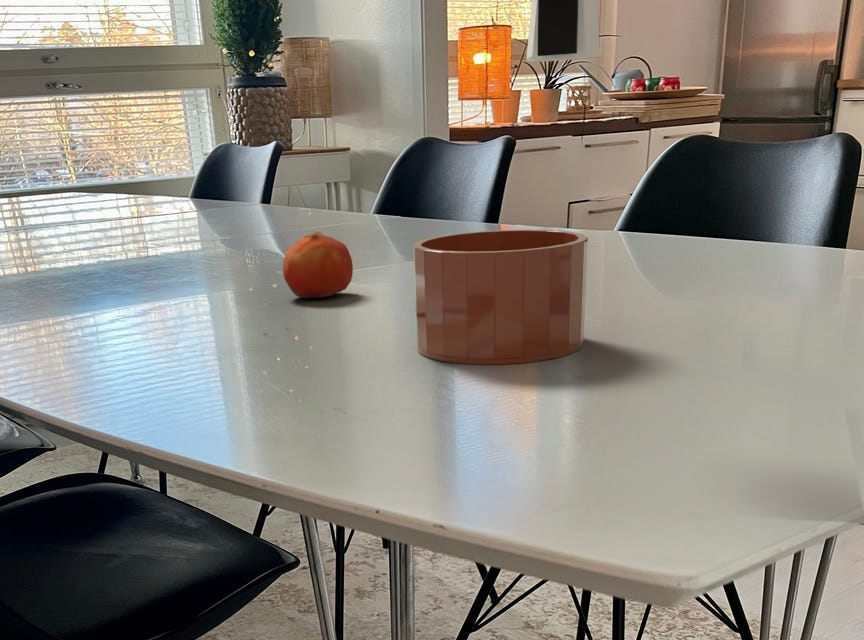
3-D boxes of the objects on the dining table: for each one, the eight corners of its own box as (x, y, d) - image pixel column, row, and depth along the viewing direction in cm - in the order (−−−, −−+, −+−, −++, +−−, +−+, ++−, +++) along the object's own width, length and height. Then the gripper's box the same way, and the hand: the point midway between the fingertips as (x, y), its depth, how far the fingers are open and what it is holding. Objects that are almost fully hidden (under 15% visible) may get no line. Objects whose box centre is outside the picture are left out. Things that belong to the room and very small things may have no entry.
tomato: (288, 305, 131) (281, 238, 127) (283, 294, 139) (277, 231, 135) (359, 299, 132) (355, 233, 128) (350, 288, 140) (346, 226, 136)
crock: (592, 329, 108) (597, 228, 103) (569, 366, 94) (573, 251, 89) (440, 328, 113) (438, 231, 108) (397, 363, 99) (392, 253, 94)
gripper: (537, -310, 73) (532, 60, 84) (485, -414, 58) (488, 56, 69) (644, -328, 71) (625, 54, 82) (620, -441, 56) (601, 48, 67)
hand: (563, 54), depth 75 cm, fingers closed on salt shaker, 5 cm apart
